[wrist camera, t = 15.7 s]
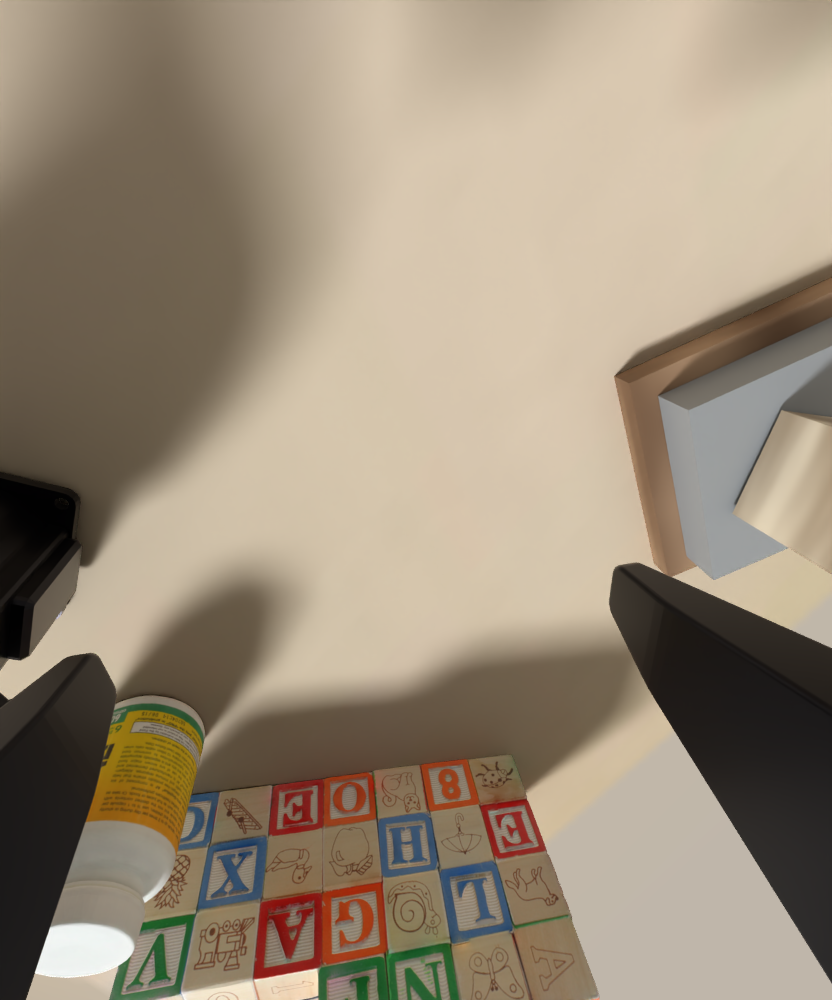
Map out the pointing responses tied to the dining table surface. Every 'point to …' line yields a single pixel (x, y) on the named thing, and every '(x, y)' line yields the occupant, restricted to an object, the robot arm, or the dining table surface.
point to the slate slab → (738, 440)
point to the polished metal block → (794, 487)
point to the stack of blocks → (362, 895)
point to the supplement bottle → (126, 836)
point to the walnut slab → (680, 368)
